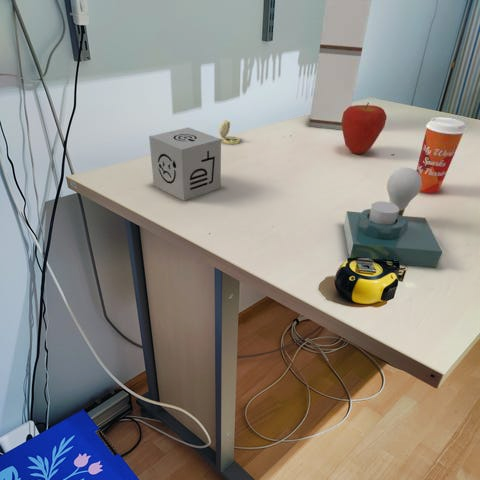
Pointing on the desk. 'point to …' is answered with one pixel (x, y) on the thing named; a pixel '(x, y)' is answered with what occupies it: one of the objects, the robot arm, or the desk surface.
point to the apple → (362, 126)
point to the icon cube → (186, 162)
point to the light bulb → (403, 187)
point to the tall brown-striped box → (338, 60)
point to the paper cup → (438, 151)
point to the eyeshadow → (224, 131)
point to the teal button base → (392, 239)
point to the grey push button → (383, 213)
